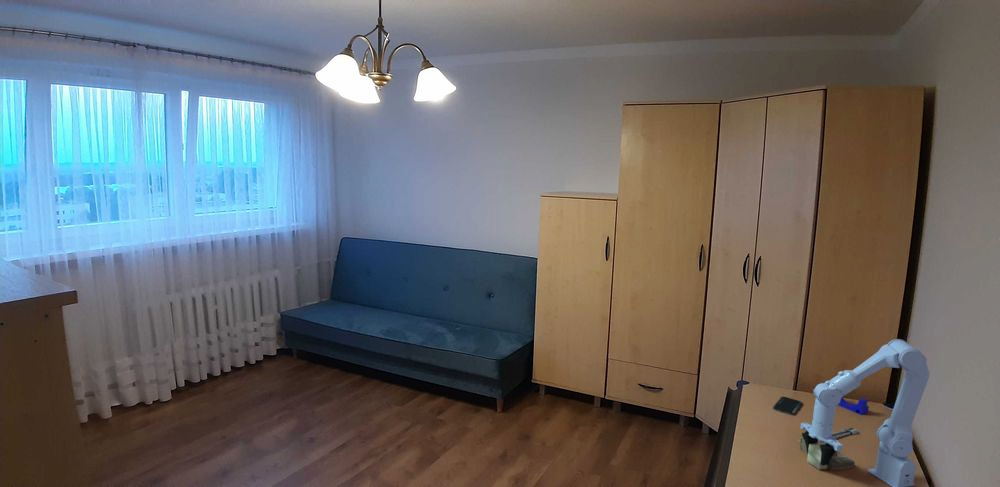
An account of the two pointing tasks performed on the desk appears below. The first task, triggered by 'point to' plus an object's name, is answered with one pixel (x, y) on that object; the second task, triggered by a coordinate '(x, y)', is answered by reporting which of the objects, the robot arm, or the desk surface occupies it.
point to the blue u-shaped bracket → (855, 406)
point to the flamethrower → (850, 431)
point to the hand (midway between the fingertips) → (817, 459)
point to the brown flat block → (834, 459)
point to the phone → (787, 405)
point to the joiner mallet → (816, 456)
